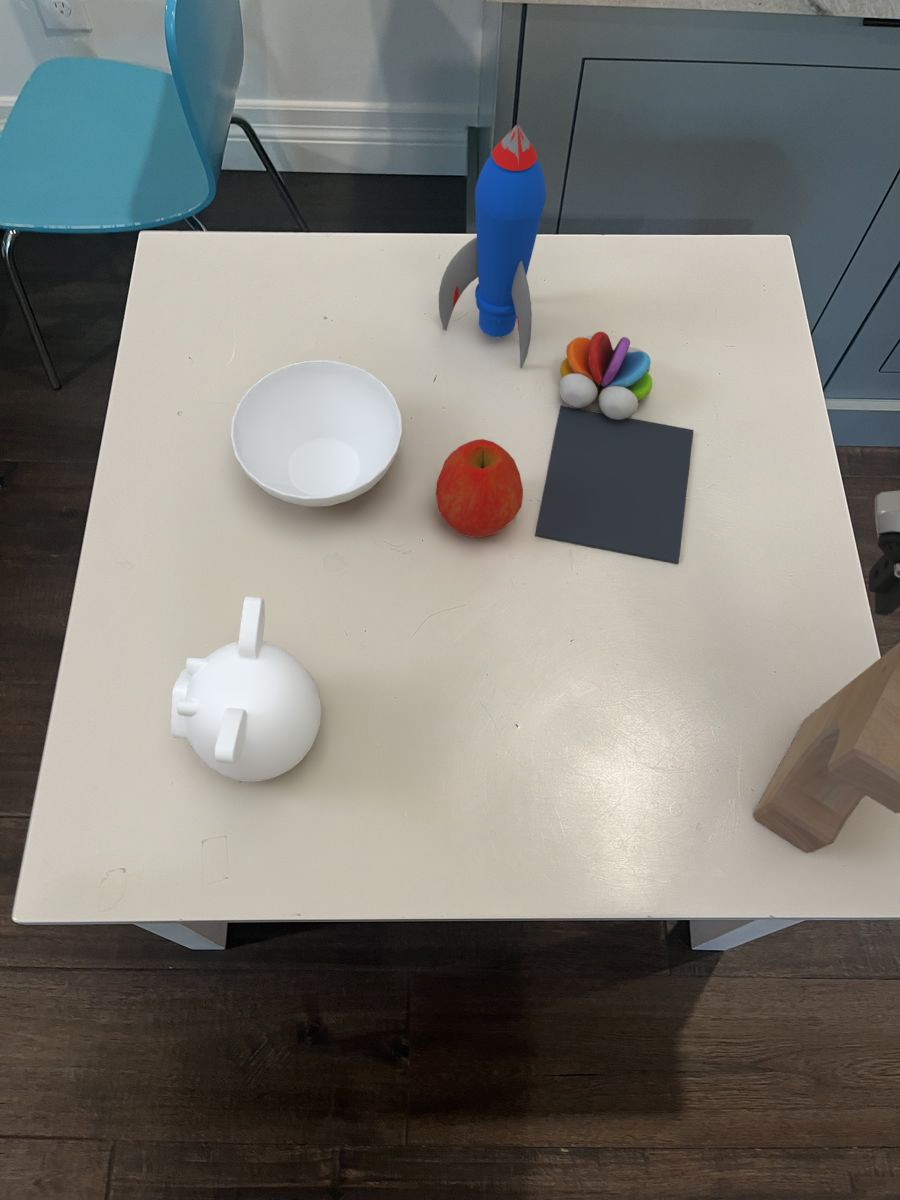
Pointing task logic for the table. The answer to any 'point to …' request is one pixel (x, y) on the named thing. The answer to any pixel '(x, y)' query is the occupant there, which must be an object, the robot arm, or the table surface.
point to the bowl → (317, 432)
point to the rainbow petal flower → (605, 375)
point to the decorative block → (839, 760)
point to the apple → (479, 489)
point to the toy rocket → (501, 242)
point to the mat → (616, 485)
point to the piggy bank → (247, 704)
